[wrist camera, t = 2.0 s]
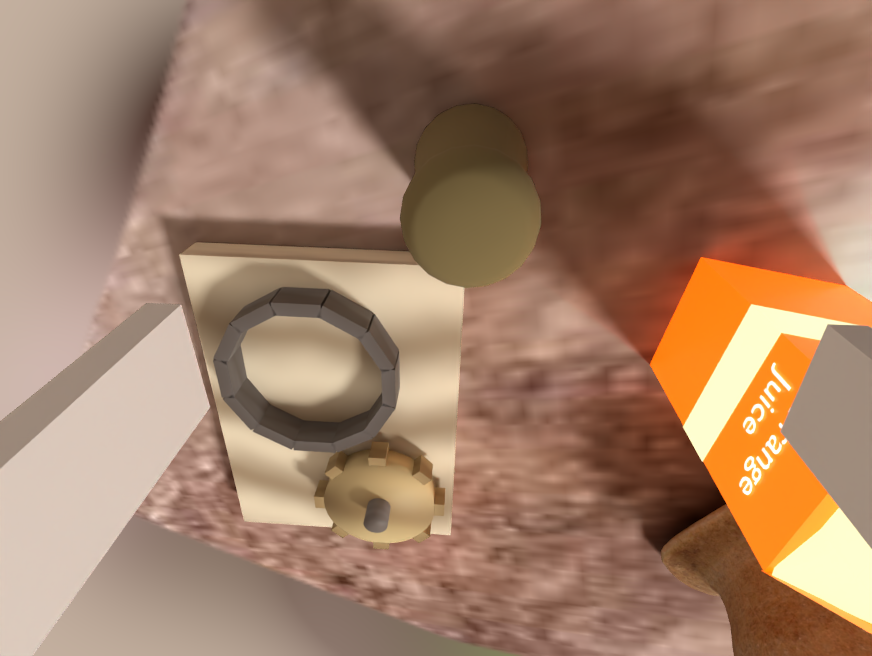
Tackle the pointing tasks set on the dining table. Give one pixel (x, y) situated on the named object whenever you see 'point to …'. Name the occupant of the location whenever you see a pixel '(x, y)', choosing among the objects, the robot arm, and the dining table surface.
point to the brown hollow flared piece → (757, 595)
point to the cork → (470, 198)
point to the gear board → (332, 384)
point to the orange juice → (765, 420)
